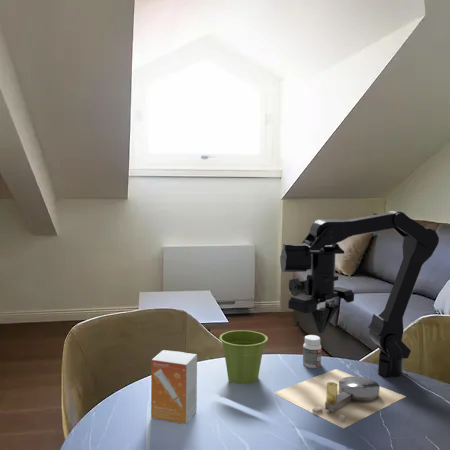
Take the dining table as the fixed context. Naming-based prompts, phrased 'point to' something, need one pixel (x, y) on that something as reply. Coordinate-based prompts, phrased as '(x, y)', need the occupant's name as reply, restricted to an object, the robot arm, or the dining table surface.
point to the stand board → (317, 388)
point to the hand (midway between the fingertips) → (320, 332)
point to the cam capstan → (350, 392)
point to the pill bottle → (312, 351)
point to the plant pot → (243, 355)
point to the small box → (174, 386)
